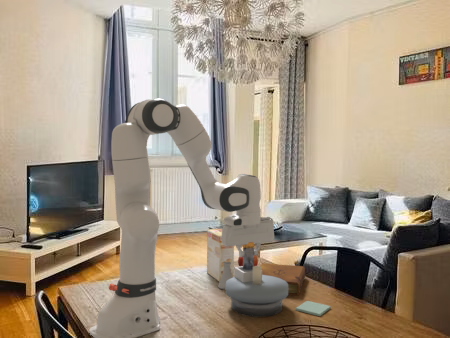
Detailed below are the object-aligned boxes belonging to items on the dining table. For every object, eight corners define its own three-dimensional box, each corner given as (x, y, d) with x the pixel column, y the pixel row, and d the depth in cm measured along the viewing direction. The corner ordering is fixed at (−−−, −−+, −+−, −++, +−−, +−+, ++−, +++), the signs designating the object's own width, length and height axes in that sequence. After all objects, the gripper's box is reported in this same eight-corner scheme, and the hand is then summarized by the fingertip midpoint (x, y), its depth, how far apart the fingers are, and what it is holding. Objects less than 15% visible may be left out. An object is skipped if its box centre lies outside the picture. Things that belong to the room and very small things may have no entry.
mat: (319, 316, 148) (319, 314, 148) (295, 310, 153) (295, 307, 153) (330, 308, 155) (330, 306, 155) (307, 302, 160) (307, 300, 160)
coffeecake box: (234, 280, 186) (234, 234, 185) (218, 282, 184) (219, 235, 183) (221, 270, 200) (221, 228, 199) (206, 272, 198) (206, 229, 196)
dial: (300, 297, 150) (300, 271, 150) (242, 307, 141) (242, 279, 141) (268, 279, 170) (268, 256, 170) (216, 286, 162) (216, 262, 161)
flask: (234, 290, 173) (234, 265, 173) (216, 289, 175) (216, 264, 174) (237, 285, 180) (237, 261, 180) (219, 283, 182) (220, 259, 181)
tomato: (260, 271, 199) (261, 254, 199) (241, 273, 197) (241, 255, 196) (253, 266, 208) (254, 249, 208) (235, 267, 206) (235, 250, 205)
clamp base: (265, 321, 144) (265, 306, 143) (220, 308, 154) (221, 294, 154) (291, 305, 158) (291, 291, 158) (249, 294, 169) (249, 281, 168)
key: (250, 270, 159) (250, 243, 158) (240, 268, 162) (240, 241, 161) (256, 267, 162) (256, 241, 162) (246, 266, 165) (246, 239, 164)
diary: (298, 297, 168) (299, 282, 168) (250, 292, 173) (250, 278, 173) (304, 279, 190) (305, 266, 190) (262, 275, 195) (262, 262, 195)
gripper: (269, 215, 168) (269, 251, 169) (219, 219, 160) (219, 256, 161) (277, 217, 162) (277, 254, 163) (226, 221, 154) (226, 261, 155)
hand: (248, 255), depth 162 cm, fingers closed on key, 4 cm apart
